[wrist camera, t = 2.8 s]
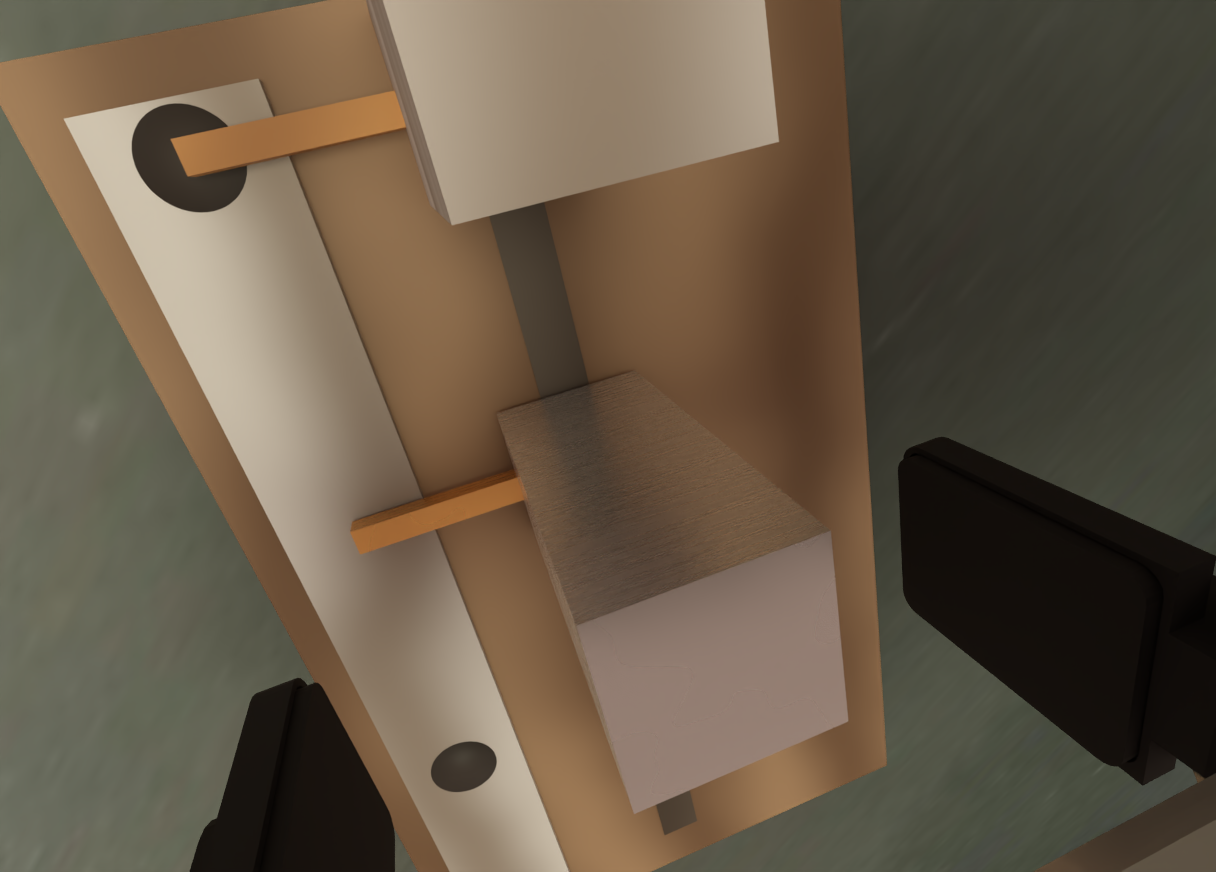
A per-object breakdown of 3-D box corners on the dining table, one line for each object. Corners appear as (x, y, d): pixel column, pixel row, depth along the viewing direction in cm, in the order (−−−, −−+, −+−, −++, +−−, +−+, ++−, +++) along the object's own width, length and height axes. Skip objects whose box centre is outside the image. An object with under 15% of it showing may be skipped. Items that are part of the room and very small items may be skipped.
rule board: (784, -63, 15) (1329, -428, 6) (853, 724, 26) (1091, 1013, 17) (41, 84, 12) (-919, -186, 3) (459, 895, 23) (490, 1350, 14)
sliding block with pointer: (634, 370, 15) (831, 530, 8) (660, 492, 17) (848, 721, 10) (328, 465, 14) (242, 750, 7) (384, 588, 16) (359, 932, 8)
